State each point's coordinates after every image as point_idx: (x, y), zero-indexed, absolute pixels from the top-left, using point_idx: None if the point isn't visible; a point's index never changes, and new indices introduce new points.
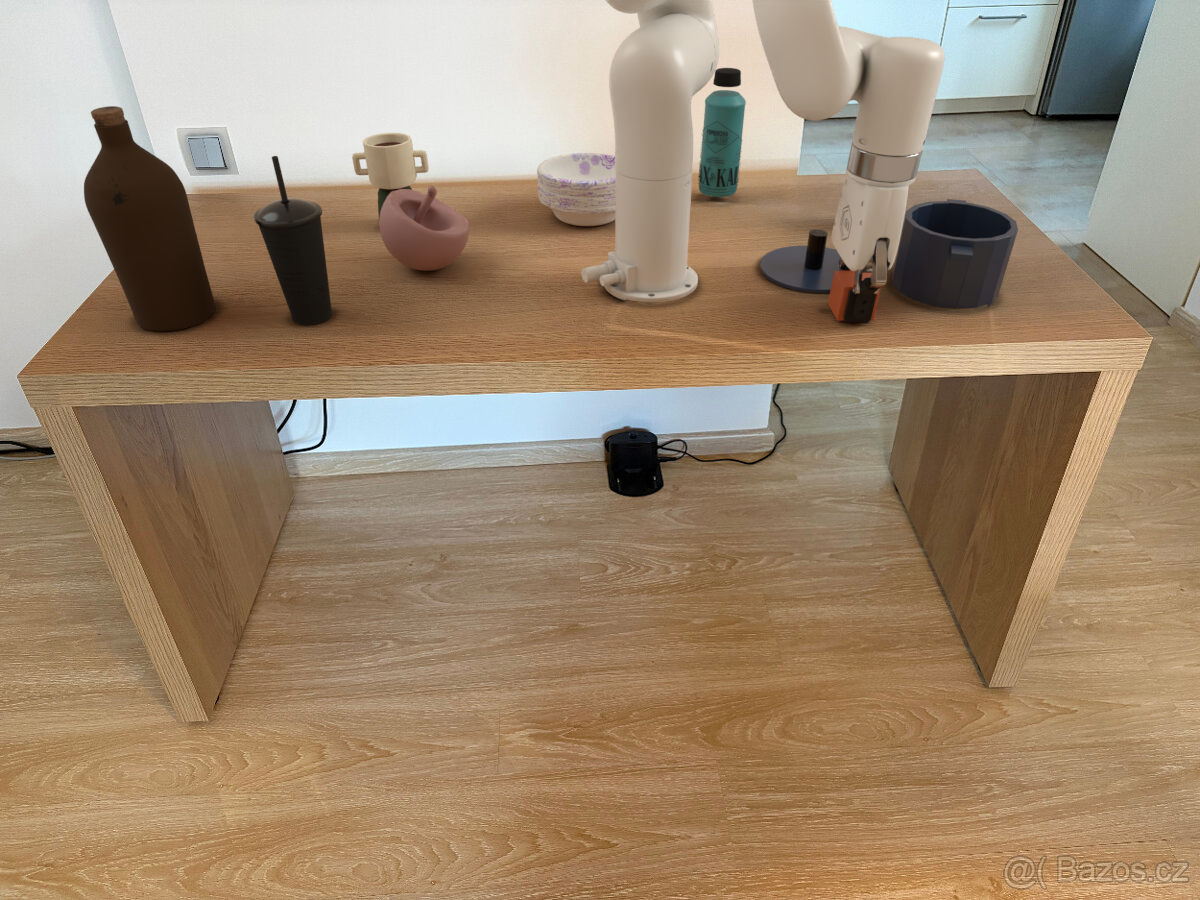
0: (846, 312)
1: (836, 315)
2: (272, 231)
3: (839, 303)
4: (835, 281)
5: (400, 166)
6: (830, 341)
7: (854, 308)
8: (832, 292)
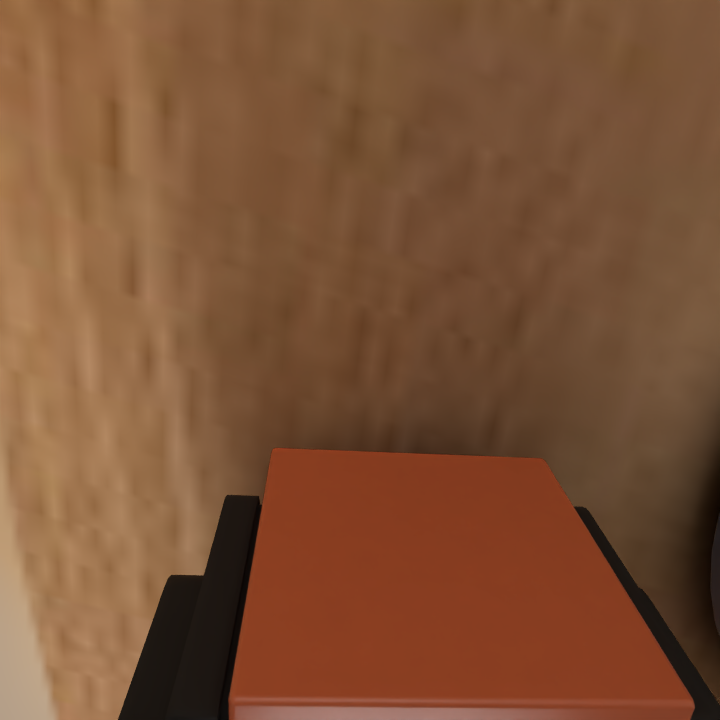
0: (216, 540)
1: (303, 461)
2: None
3: (289, 532)
4: (547, 628)
5: None
6: (89, 330)
7: (188, 617)
8: (527, 533)
